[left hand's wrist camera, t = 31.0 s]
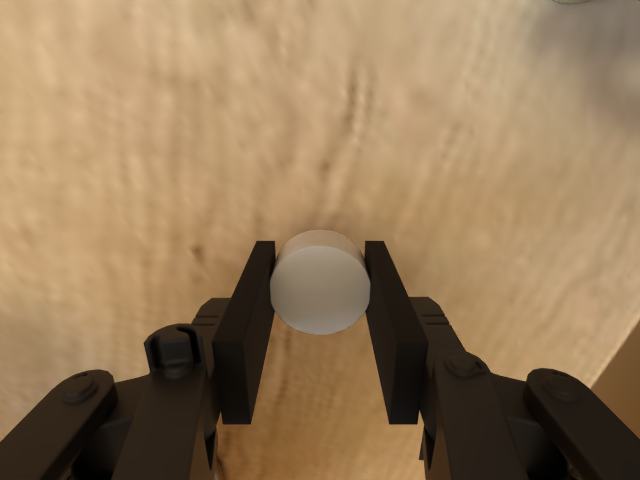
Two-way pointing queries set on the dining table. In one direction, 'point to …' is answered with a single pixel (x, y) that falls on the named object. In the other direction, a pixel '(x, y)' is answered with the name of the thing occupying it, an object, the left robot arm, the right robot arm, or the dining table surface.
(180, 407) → the left robot arm
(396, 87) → the dining table surface
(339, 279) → the cap
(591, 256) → the dining table surface
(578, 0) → the bottle
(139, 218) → the dining table surface
